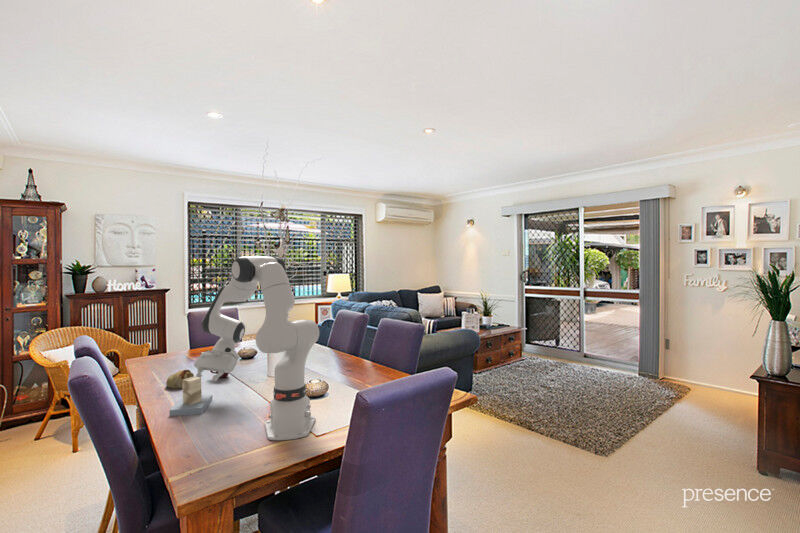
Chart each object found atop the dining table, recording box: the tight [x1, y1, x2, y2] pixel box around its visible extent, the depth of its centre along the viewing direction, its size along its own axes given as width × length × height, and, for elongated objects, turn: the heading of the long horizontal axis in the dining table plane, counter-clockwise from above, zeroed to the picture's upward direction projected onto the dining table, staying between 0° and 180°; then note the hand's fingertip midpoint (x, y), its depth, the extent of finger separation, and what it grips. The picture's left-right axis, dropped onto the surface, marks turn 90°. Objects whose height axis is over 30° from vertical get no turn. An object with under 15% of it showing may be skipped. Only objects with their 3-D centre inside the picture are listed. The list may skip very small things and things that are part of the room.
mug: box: [209, 371, 230, 379], centre depth 214 cm, size 10×8×10 cm
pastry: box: [165, 369, 195, 390], centre depth 202 cm, size 14×12×8 cm
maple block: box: [182, 376, 203, 405], centre depth 171 cm, size 5×5×10 cm
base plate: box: [169, 394, 213, 417], centre depth 171 cm, size 16×12×3 cm
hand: (206, 378), depth 178 cm, fingers open, 8 cm apart
